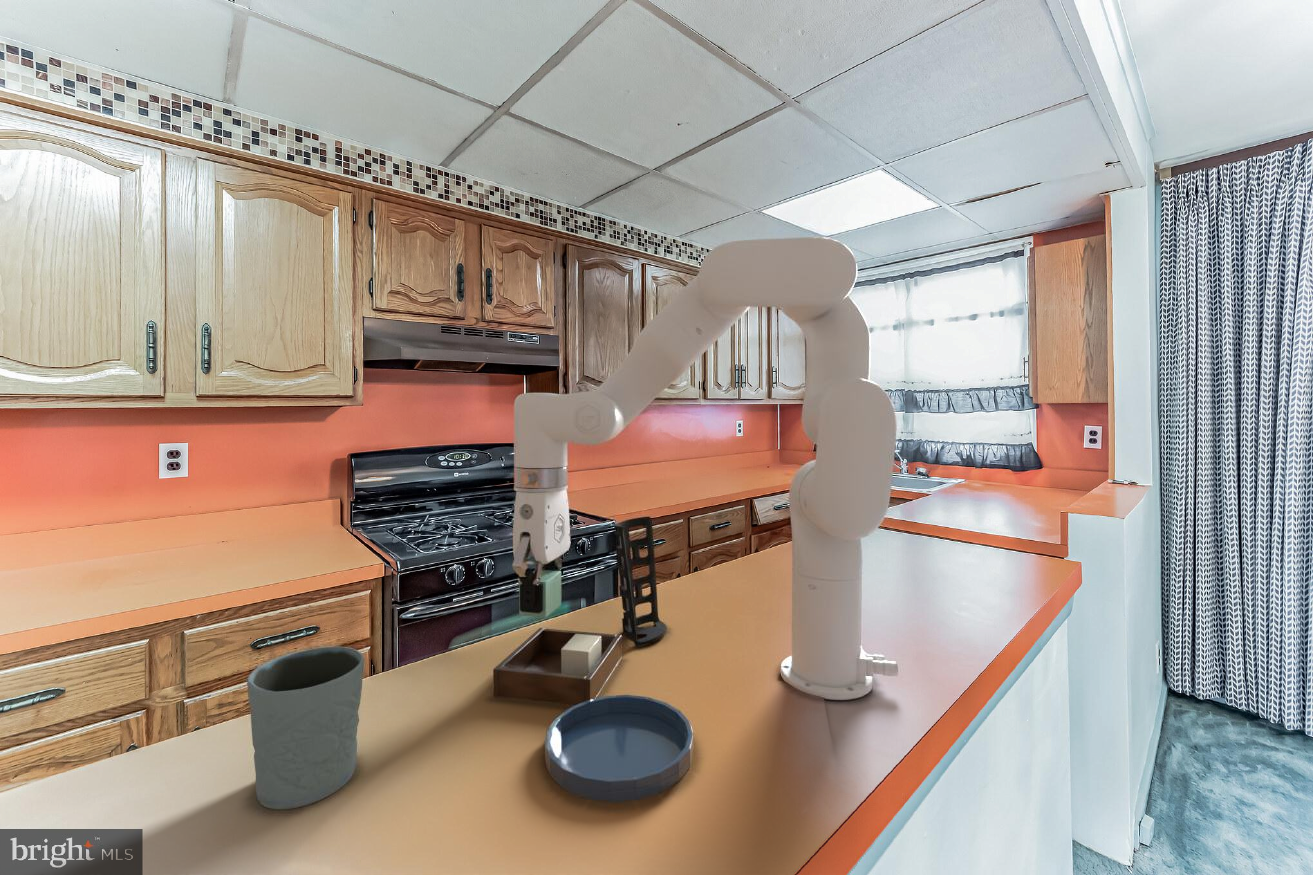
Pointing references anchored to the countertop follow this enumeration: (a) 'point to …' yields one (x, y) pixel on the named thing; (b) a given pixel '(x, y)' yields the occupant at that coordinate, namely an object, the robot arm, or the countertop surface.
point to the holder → (637, 582)
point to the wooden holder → (553, 669)
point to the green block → (547, 593)
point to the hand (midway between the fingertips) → (541, 602)
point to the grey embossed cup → (305, 724)
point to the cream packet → (580, 654)
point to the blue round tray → (619, 748)
